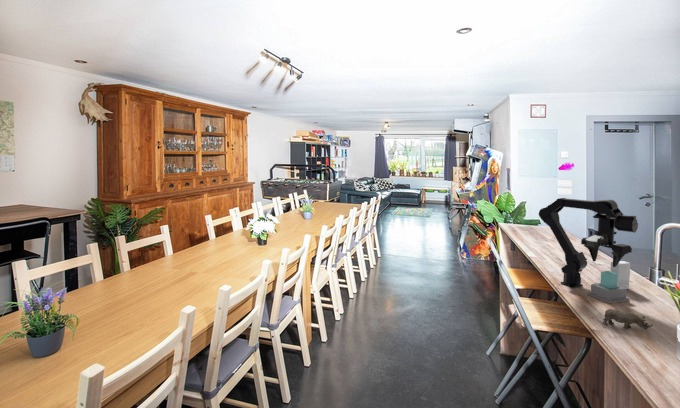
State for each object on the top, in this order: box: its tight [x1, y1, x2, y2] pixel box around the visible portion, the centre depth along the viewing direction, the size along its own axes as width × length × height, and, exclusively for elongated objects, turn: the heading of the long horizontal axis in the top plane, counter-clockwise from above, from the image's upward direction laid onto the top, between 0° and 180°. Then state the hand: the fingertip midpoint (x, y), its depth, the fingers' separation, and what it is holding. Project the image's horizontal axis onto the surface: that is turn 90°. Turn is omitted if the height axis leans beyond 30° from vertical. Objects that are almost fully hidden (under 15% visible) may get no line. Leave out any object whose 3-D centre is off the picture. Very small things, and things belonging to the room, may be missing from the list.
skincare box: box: [610, 260, 631, 289], centre depth 163 cm, size 6×4×12 cm
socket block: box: [587, 282, 630, 304], centre depth 153 cm, size 10×10×5 cm
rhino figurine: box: [602, 308, 654, 331], centre depth 126 cm, size 4×14×6 cm, turn 52°
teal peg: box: [599, 270, 618, 289], centre depth 152 cm, size 4×4×10 cm
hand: (604, 264), depth 157 cm, fingers open, 9 cm apart
